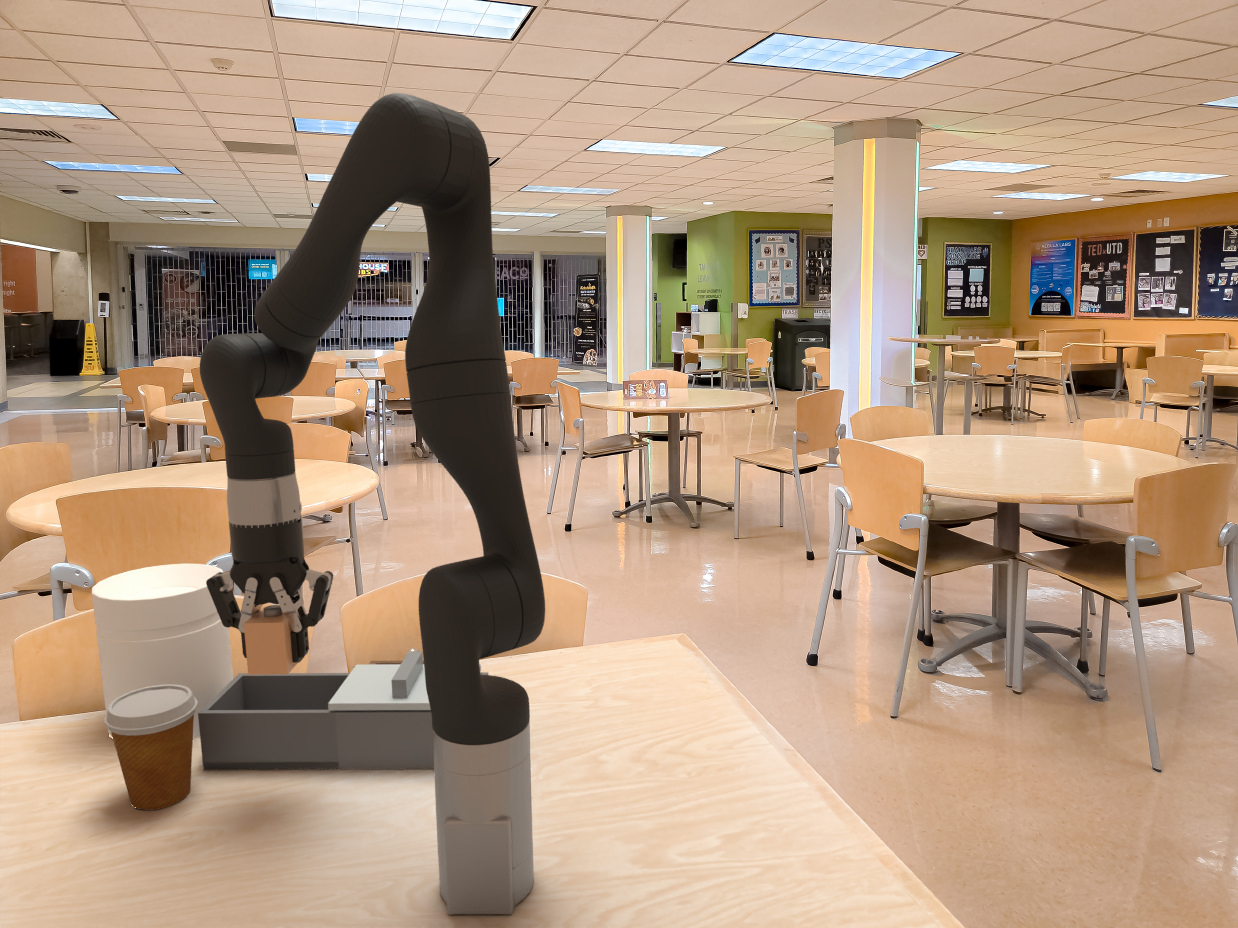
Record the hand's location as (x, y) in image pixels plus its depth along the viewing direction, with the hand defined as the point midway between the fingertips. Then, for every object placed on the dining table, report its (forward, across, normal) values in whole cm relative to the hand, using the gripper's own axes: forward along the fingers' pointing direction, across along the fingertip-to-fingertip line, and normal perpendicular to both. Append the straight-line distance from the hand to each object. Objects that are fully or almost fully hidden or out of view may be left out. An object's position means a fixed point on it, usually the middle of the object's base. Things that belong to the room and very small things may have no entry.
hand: (277, 659), depth 101 cm
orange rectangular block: (+1, 0, 0) cm, 1 cm away
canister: (+16, -23, +20) cm, 34 cm away
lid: (+9, +12, +11) cm, 19 cm away
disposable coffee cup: (+17, -15, 0) cm, 22 cm away
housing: (+17, +5, +11) cm, 21 cm away
